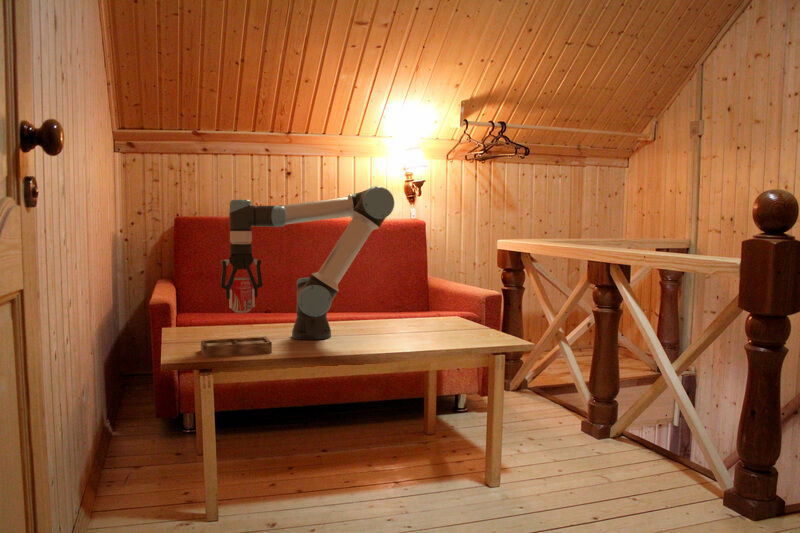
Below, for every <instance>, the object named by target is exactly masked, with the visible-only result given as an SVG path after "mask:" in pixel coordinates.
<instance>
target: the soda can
mask: <svg viewBox="0 0 800 533" xmlns="http://www.w3.org/2000/svg"><path fill="white" fill-rule="evenodd" d="M230 289H231V290H232V308H231V310H232V311H233V312H234V313H237V314H241V313H243V314H244V313H250V311H252V309H253V307H252V289H253V285H252V283H251V281H250V278H249V277H234V279H233V282H232V285H231V287H230Z"/></svg>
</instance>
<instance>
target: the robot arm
mask: <svg viewBox="0 0 800 533" xmlns="http://www.w3.org/2000/svg"><path fill="white" fill-rule="evenodd" d="M394 208H395V199H394V196H393V194H392V192H391V191H390V190H388V189H387V188H386V187H383V186H380V185H376V186H371V187H369V188H368V189H367V188H366V189H365V190H363V191H360V192H356V193H349V194H348V196H346V197H338V198H330V199H329V198H328V199H320V200H314V201H313V200H312V201H305V202H298V203H291V204H290V203H289V204H281V205H278V204H277V205H254V204H252V201H251V200H250V199H231V200H230V202H229V210H228V211H229V212H228V214H229V215H228V216H229V217H228V218H229V242H230V245H229V258H228V259H222V260H221V277H220V278H221V279H220V288H221V289H224V290H225V298H226V299H227V300H229V301H228V304H229V306H228V307H229V309H231V310H232V290H231V286H232V282H233V279H234V278H235V277H236V273H237V271H239V270H245V272H246V273H247V276H248V278H250V281H251V283H252V308H256V304H255V302H256V301H255V299H256V298H258V289H260V288H262V287H263V277H262V269H261V263H262V260H261V259H260V258H259V259H258V258H257V259H256V258H254V257H253V244H252V242H253V236H252V235H253V233H252V232H253V230H252V228H255V227H260V228H261V227H263V228H264V227H268V228H271V227H272V228H273V227H274V228H279V227H280V228H281V227H285V226H286V225H292V224H301V223H308V222H310V223H311V222H317V221H323V220H333V219H341V218H347V217H350V218H351V220H350V222H349V223H348V225H347V227H346V229H345V230H344V232H343V233H342V234H341V236H340V237H339V239H338V240H337V242H336V243H335V246H334V247H333V248H332V249H331V251H330V252H329V255H328V256H326V259H325V261H324V262H323V263H322V265H321V266H320V268H319V269H318V271H317V272H312V273H311V274H310V276H309V277H301V278H298V279H297V280H296V317H295V321H294V323H293V324H294V325H293V327H292V330H291V337H292V338H293V339H295V340H307V341H315V340H317V341H319V340H325V339H329V338H331V337H332V329H331V327H330V322H329V321H328V316H327V315H328V314H327V313H328V311H329V310H330V309H331V305H332V302H333V301H334V299H335V297H336V295H337V294H338V292H339V291H340V290H339V283H340V282H341V281H342V278H343V277H344V276H345V274H346V273H347V271H348V269H349V268H350V266H351V265H352V263H353V262H354V260H355V258H356V257H357V255H358V254H359V252H360V251H361V249H362V248H363V246H364V244H365V243H366V242H367V240H368V238H369V237H370V235H371V234H372V232H373V231H375V230H378V229H380V227H381V225H382V224H383V223H384V221H385V220H386V218H387V217H389V216H390V215H392V214H391V213H392V212H393V211H394ZM229 263H230V264H231V266H232V269H231V272H230V274H229V278H228V280H227V283H226V278H227V277H226V276H227V268H228V267H227V266H229ZM252 263H253V264H254V265H255V274H256V279H257V282H256V280H255V277H254V274H253V272H252V269H251V267H250V266H251V265H252Z"/></svg>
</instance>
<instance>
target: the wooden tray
mask: <svg viewBox="0 0 800 533" xmlns="http://www.w3.org/2000/svg"><path fill="white" fill-rule="evenodd" d="M272 345H273V343H272V341H271V340H270V339H269V338H268V337H267V336H257V337H256V336H255V337H251V336H250V337H238V338H220V339H219V338H218V339H204V340H200V352H201V355H202V357H203V358H216V357H217V358H218V357H228V356H229V357H230V356H231V357H233V356H243V355H245V356H246V355H259V354H260V355H261V354H271V353H272V350H273V349H272V348H273V346H272Z"/></svg>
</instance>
